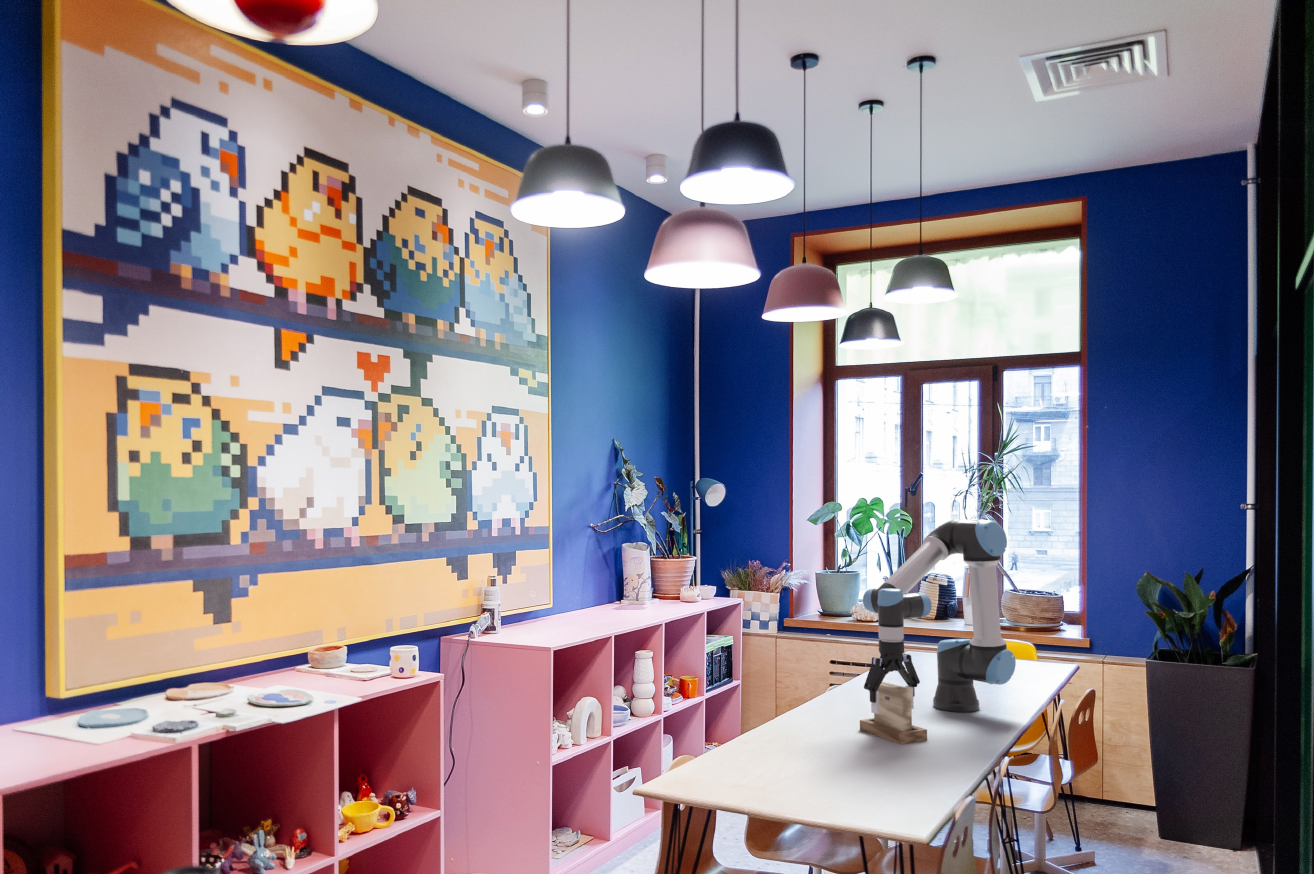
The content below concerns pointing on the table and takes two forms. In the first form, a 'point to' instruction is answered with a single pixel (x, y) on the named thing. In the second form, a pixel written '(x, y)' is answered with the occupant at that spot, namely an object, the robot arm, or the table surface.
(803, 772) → the table surface
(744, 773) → the table surface
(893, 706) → the panel
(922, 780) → the table surface
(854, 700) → the table surface
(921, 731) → the track
